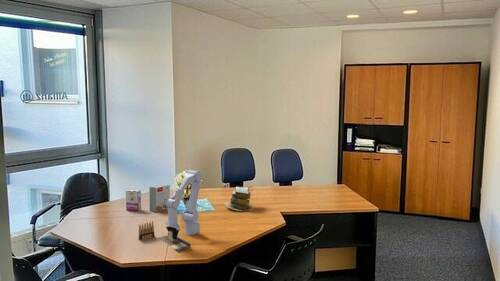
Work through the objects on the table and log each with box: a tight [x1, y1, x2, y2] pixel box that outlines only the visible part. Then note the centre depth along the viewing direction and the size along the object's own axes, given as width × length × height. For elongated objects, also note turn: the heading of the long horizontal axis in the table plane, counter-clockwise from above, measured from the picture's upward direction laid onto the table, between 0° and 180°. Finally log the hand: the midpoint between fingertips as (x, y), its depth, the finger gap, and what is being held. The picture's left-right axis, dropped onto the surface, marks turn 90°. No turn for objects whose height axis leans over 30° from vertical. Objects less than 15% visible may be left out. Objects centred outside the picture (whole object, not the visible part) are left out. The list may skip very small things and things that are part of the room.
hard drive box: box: [148, 183, 171, 213], centre depth 336 cm, size 16×8×20 cm, turn 143°
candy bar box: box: [125, 189, 142, 212], centre depth 335 cm, size 11×5×16 cm, turn 76°
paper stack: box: [224, 186, 255, 212], centre depth 342 cm, size 25×25×17 cm
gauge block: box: [169, 231, 179, 242], centre depth 264 cm, size 4×4×6 cm
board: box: [157, 232, 192, 253], centre depth 262 cm, size 9×26×3 cm, turn 40°
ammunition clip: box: [137, 220, 155, 241], centre depth 268 cm, size 11×2×12 cm, turn 131°
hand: (173, 238), depth 264 cm, fingers closed on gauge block, 4 cm apart
